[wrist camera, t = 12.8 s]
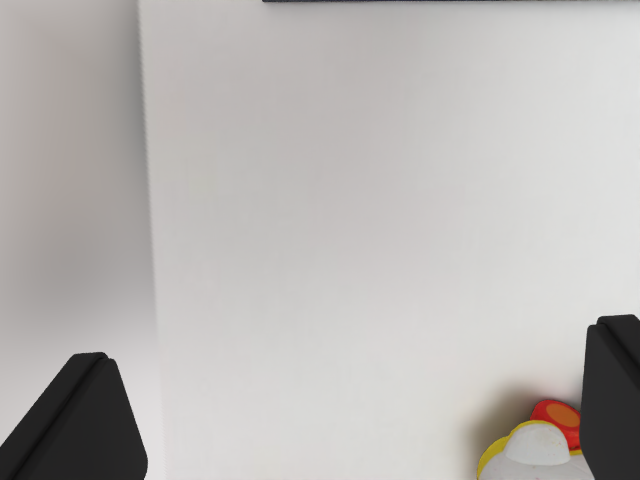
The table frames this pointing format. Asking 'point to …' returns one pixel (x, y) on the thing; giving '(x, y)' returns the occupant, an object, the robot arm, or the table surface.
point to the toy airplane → (539, 448)
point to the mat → (365, 0)
